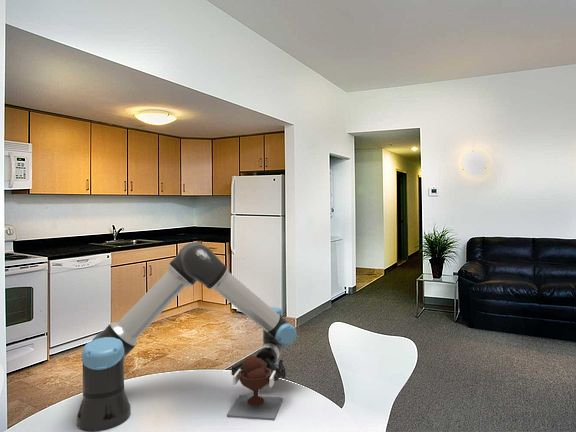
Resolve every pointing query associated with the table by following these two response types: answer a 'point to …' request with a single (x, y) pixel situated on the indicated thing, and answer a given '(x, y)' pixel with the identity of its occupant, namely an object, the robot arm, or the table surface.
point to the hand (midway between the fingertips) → (252, 382)
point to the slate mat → (255, 408)
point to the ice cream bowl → (254, 377)
